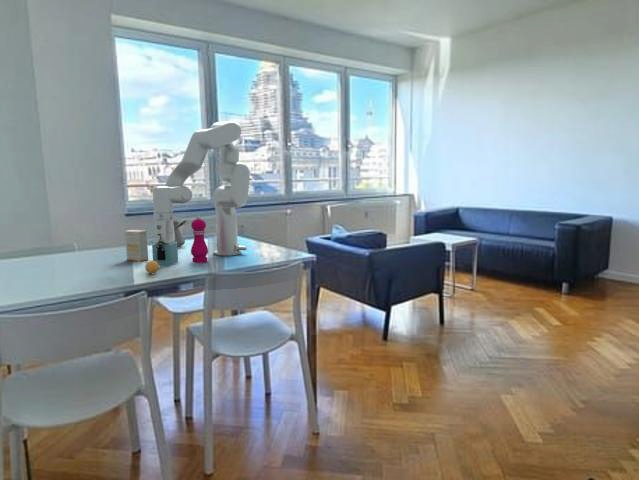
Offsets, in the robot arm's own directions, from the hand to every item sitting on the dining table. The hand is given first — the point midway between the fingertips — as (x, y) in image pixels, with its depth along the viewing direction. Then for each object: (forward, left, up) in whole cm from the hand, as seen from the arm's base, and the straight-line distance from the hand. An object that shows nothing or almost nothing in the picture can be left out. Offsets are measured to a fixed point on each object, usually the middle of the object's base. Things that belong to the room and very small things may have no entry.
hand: (165, 257), depth 195 cm
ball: (-2, +18, 0) cm, 18 cm away
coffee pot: (+8, -35, -3) cm, 36 cm away
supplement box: (+15, -6, -3) cm, 16 cm away
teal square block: (0, 0, -3) cm, 3 cm away
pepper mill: (-13, -5, -3) cm, 14 cm away
